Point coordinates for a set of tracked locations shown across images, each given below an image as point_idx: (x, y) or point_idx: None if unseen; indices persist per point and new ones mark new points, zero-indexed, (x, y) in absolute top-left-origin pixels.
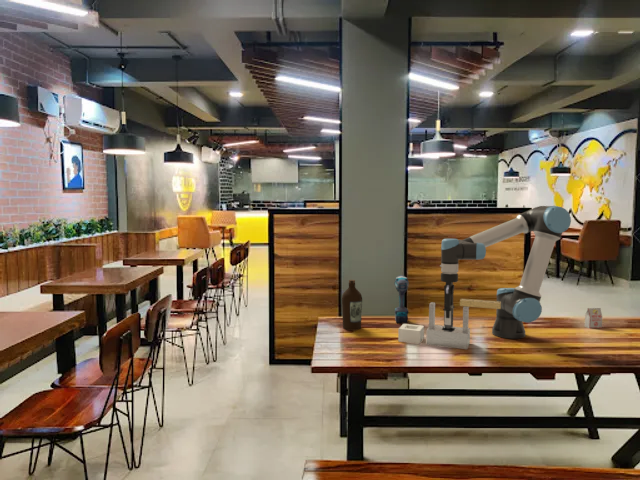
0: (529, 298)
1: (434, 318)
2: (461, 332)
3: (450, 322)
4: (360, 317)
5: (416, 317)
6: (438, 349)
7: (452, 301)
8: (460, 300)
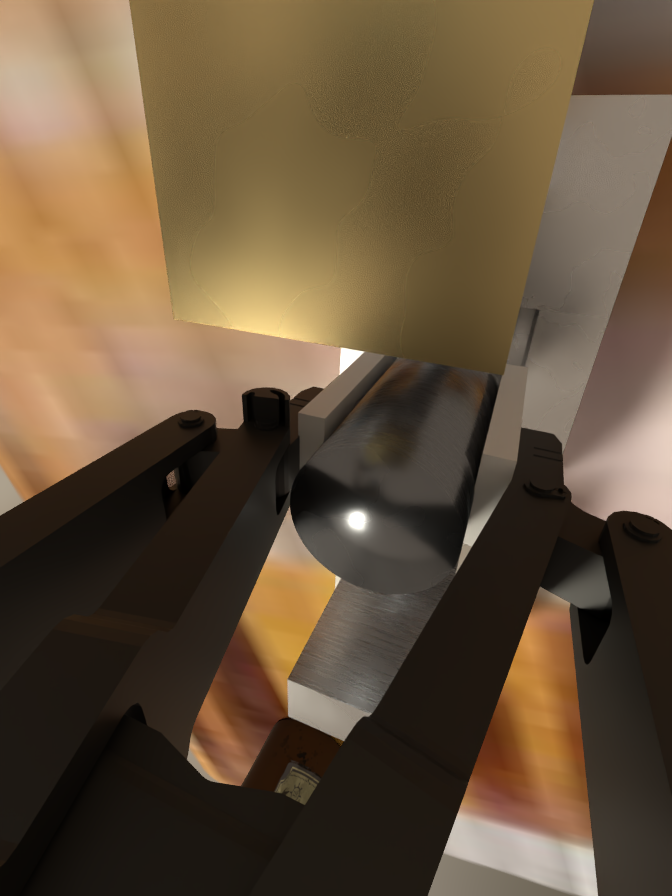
0: None
1: None
2: (605, 203)
3: (524, 382)
4: (289, 782)
5: (20, 483)
6: (664, 406)
7: (223, 480)
8: (508, 350)
